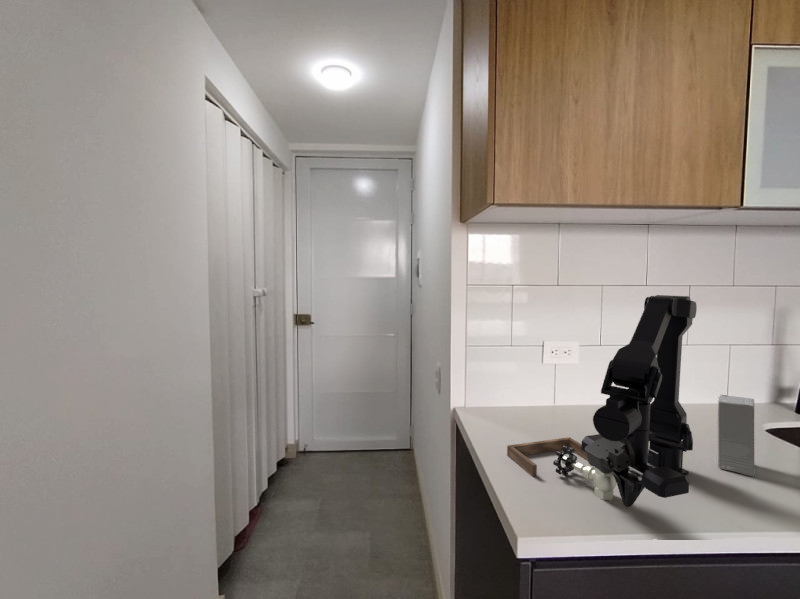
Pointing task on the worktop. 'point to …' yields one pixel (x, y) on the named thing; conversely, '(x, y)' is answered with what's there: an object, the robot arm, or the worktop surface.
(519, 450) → the carrier bracket
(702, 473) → the worktop surface
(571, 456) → the valve
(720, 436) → the skincare box
